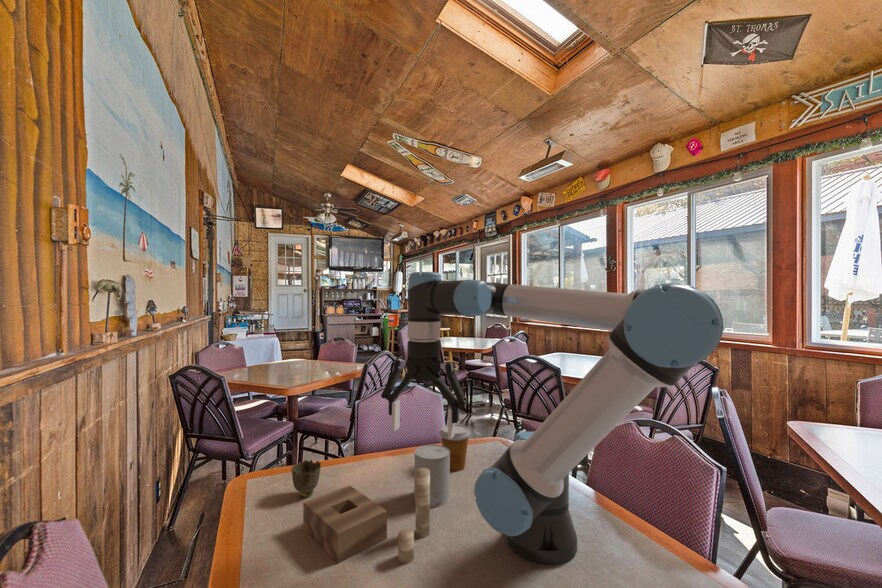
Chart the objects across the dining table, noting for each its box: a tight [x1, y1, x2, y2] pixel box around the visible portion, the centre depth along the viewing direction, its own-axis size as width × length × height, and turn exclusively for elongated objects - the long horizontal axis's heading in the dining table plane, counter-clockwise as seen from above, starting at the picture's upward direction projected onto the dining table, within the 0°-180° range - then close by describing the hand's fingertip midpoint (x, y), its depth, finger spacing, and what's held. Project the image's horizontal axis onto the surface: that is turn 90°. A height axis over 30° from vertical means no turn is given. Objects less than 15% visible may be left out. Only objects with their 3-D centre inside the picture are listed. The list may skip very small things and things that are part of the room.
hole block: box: [302, 485, 388, 564], centre depth 87 cm, size 16×12×6 cm
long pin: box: [415, 468, 431, 538], centre depth 87 cm, size 3×3×14 cm
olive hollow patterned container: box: [291, 459, 322, 498], centre depth 103 cm, size 8×7×8 cm
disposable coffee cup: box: [439, 423, 471, 472], centre depth 121 cm, size 10×10×12 cm
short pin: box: [397, 528, 415, 565], centre depth 78 cm, size 3×3×5 cm
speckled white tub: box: [413, 444, 451, 508], centre depth 102 cm, size 10×10×12 cm
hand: (422, 433), depth 87 cm, fingers open, 13 cm apart
